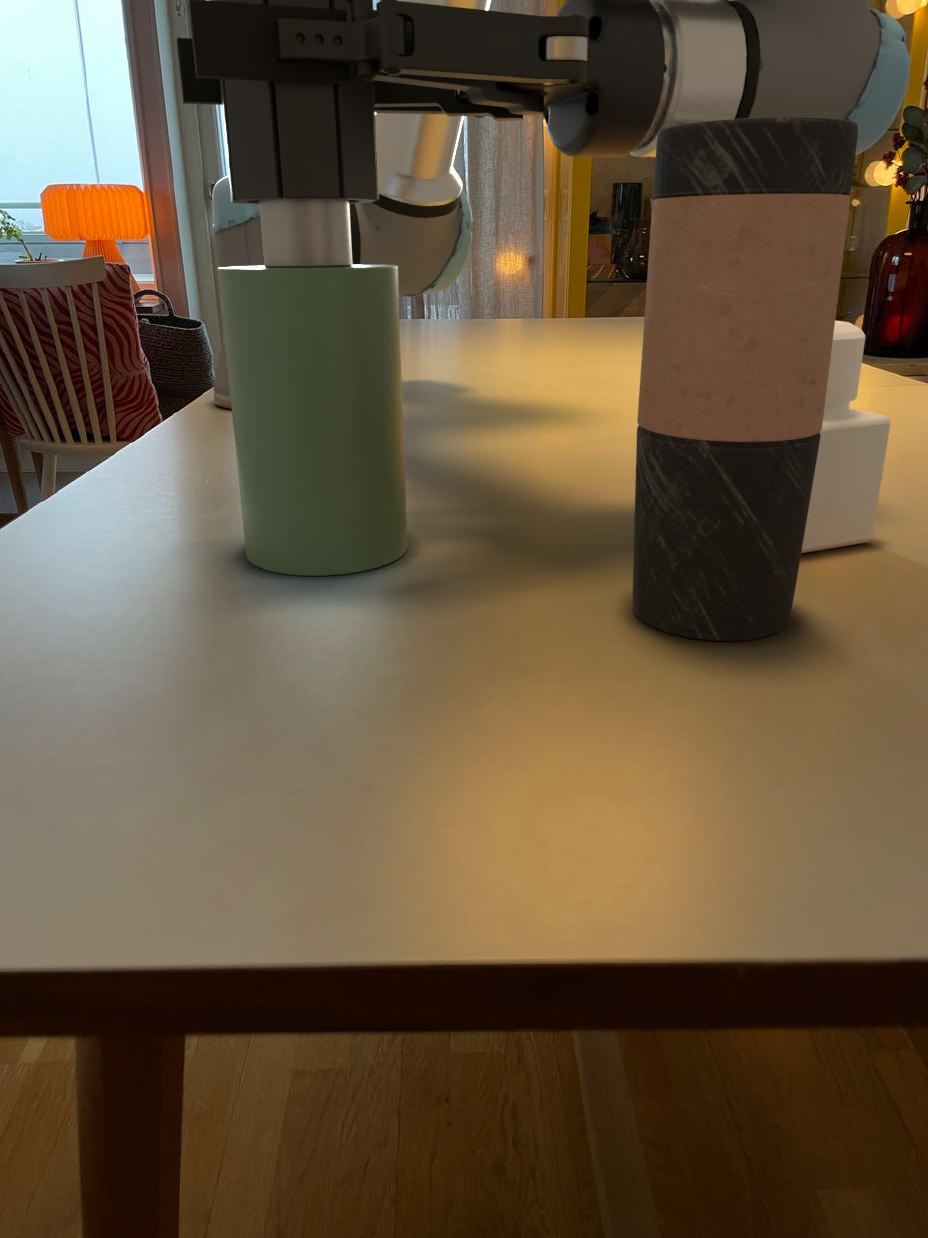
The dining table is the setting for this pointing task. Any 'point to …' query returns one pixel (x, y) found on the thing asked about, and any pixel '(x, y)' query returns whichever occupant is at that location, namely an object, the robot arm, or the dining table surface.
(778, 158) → the travel mug
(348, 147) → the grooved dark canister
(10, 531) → the dining table surface
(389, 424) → the flask
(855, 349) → the medicine bottle
